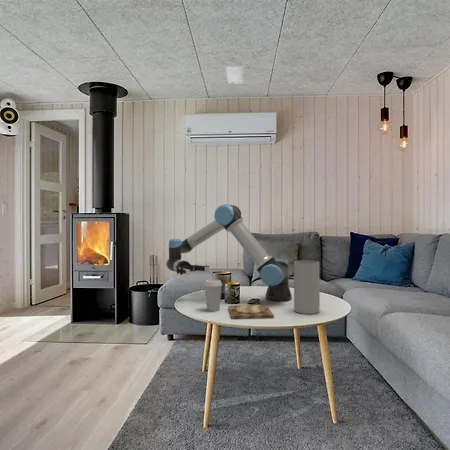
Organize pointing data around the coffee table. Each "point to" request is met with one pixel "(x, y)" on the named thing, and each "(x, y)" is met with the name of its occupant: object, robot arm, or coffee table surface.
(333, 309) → the coffee table surface
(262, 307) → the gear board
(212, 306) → the coffee cup
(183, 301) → the coffee table surface
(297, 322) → the coffee table surface
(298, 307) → the cylinder vase
